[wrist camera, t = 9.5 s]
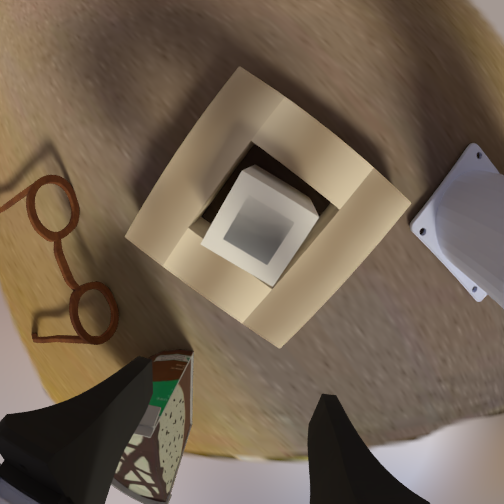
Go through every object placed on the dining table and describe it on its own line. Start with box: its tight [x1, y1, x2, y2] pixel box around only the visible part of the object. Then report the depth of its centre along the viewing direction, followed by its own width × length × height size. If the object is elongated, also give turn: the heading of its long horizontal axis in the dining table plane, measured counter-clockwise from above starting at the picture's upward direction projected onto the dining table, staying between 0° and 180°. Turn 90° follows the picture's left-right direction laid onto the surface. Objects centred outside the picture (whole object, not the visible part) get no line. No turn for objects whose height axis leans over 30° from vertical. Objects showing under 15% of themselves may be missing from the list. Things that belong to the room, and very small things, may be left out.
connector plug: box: [201, 165, 319, 287], centre depth 17 cm, size 4×4×6 cm
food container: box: [111, 349, 194, 504], centre depth 21 cm, size 12×6×10 cm, turn 173°
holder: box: [125, 66, 411, 349], centre depth 19 cm, size 12×12×3 cm
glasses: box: [0, 175, 119, 345], centre depth 22 cm, size 13×13×5 cm
